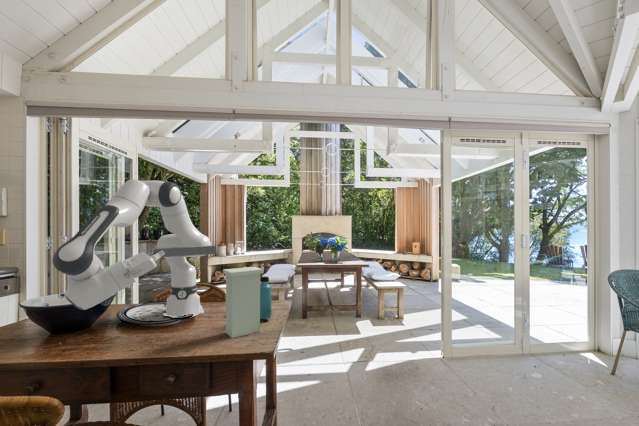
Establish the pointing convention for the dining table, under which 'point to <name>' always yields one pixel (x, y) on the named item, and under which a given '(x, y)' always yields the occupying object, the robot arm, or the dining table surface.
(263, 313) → the beverage bottle
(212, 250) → the graphite bar
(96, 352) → the dining table surface
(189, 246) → the robot arm
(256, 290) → the sage stand
